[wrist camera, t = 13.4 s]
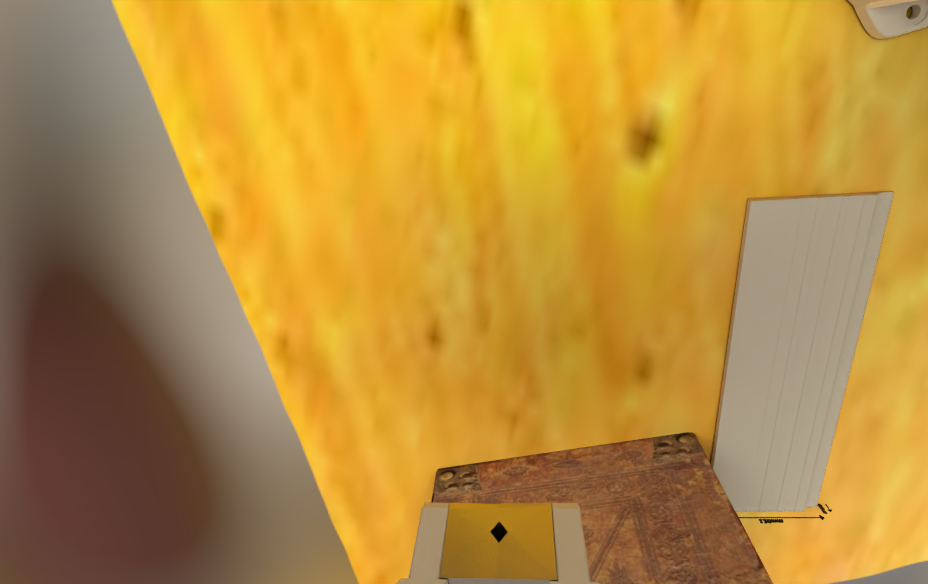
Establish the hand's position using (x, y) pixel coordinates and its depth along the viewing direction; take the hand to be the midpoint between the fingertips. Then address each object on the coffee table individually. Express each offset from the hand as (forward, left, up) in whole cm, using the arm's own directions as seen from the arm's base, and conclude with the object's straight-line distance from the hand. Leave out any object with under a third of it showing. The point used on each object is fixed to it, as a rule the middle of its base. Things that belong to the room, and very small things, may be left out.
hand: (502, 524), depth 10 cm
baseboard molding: (-24, +19, -35) cm, 46 cm away
